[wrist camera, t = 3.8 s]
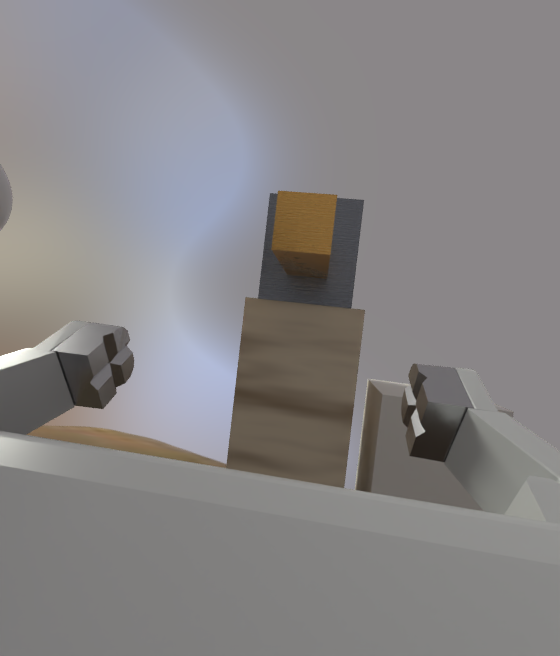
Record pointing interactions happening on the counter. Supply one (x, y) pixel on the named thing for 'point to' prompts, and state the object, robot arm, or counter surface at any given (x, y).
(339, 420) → the tall pedestal
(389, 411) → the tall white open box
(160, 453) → the counter surface
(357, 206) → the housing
